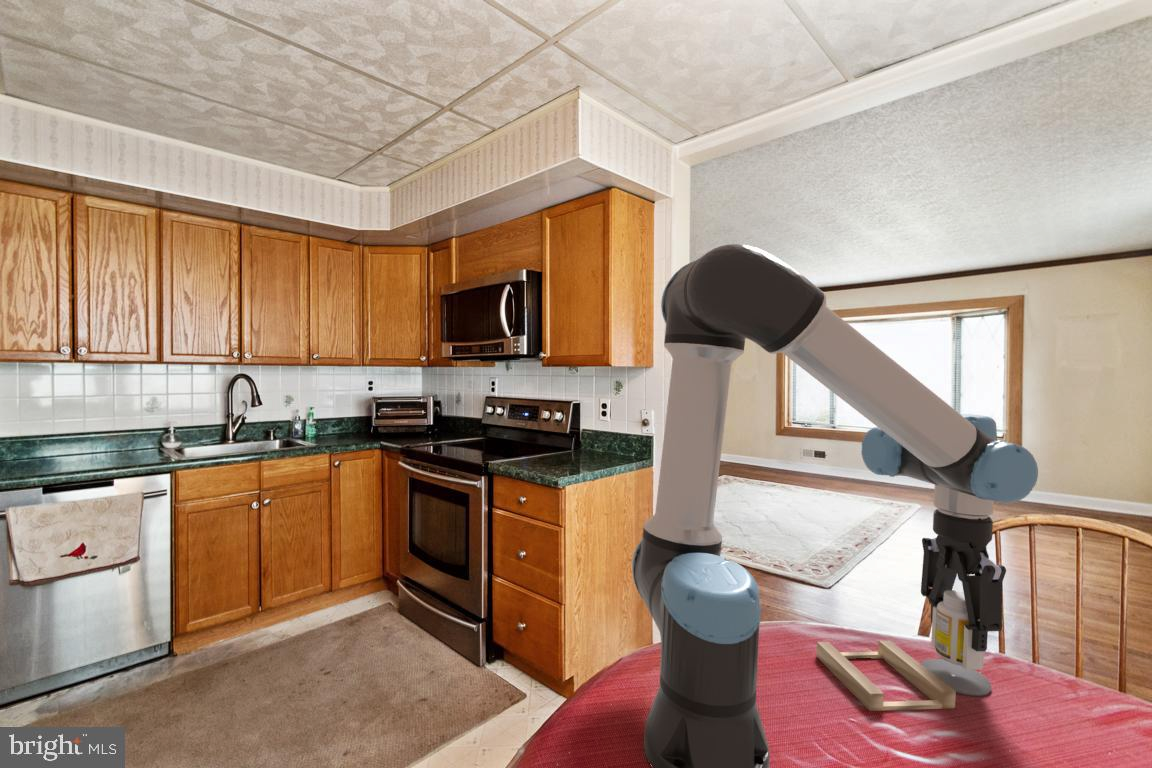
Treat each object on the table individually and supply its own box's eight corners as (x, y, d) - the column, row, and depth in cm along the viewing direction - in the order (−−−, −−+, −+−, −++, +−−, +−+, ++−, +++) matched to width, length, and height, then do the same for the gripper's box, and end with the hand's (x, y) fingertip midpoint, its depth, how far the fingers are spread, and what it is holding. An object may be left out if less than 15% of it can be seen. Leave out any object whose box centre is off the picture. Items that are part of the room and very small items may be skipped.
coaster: (950, 696, 78) (951, 693, 78) (907, 662, 87) (907, 659, 87) (1006, 695, 79) (1006, 691, 79) (958, 661, 88) (958, 658, 88)
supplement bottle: (982, 660, 82) (985, 596, 82) (972, 673, 79) (975, 606, 78) (941, 645, 87) (944, 584, 86) (929, 656, 83) (932, 593, 83)
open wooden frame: (869, 711, 74) (870, 693, 74) (816, 656, 88) (817, 641, 88) (954, 708, 75) (955, 691, 75) (889, 654, 89) (889, 640, 89)
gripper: (1042, 530, 73) (1033, 692, 74) (939, 497, 91) (933, 627, 92) (992, 531, 72) (984, 694, 73) (898, 497, 91) (893, 628, 92)
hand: (956, 656), depth 83 cm, fingers closed on supplement bottle, 6 cm apart
